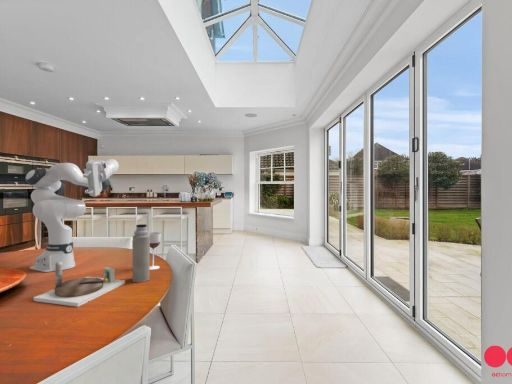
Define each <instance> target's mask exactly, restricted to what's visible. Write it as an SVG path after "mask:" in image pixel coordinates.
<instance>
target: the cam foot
mask: <svg viewBox="0 0 512 384" xmlns="http://www.w3.org/2000/svg"><path fill="white" fill-rule="evenodd" d="M54 272H55V279H54V281H55V286H54V289H55V294H56V295H58V296H63V297H72V296H80V295H85V294H89V293H93V292H95V291H98V290H99V289H101V288H102V287H103V283H106V282H107V281H108V279H107V278H104V277H103V278H104V279H103V280H102V279H100V278H101V277H96V278H93V276H88V277H89V278H85V277H79V278H74V279H69V280H65V281H63V270H62V262H57V263H56V266H55V271H54Z"/></svg>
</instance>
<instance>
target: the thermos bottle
mask: <svg viewBox="0 0 512 384" xmlns="http://www.w3.org/2000/svg"><path fill="white" fill-rule="evenodd" d="M147 227H148V226H147V224H136V229H135V230H134V233H133V236H132V274H131V275H132V277H131V278H132V282H134V283H144V282H146V281H149V280H150V270H149V267H150V266H151V265H150V263H151V262H150V257H151V256H150V255H151V254H150V251H151V247H150V235H148V233H150V232H149V230H147Z"/></svg>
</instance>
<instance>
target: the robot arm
mask: <svg viewBox="0 0 512 384" xmlns="http://www.w3.org/2000/svg"><path fill="white" fill-rule="evenodd" d="M119 169H120V164H119V162H118V161H117V160H116V159H115V158H109V159H106V160H101V159H95V158H93V159H91V160H88V161H87V162H86V163H85V164H84V165H83V171H84V173H83V172H82V170H81V169H80V168H79V166H78V165H76V164H75V163H73V162H72V163H71V162H60V163H59V162H58V163H55V164H53V165H51V166H50V168H49V169H46V168H45V167H41V168H34V169H30V170H29V171H28V172H27V174H26V175H25V177H24V179H25V180H24V181H25V182H26V183H27V184H28V185H30V186H33V187H34V188H36V189H34V190H32V192H31V194H30V199H31V200H32V202H33V207H32V214H33V216H34V217H35V218H36V219H37V220H40V222H42V223H43V224H44V225H45V227H46V229H47V234H48V243H47V244H46V245H44V247H45V250H44V251H43V252H42V253H40V254H39V255H38V256H37V257H36V258H35V263H34V264H33V265H31V266H29V269H30V270H32V271H33V270H34V271H37V272H43V273H49V272H55V266H56V263H57V262H62V271H65V270H70V269H73V268H74V267H76V261H75V255H74V250H73V249H74V242H73V229H72V227H70V226H69V225H67V224H64V223H63V221H62V219H74V218H78V217H82V216H84V215H85V213H86V210H87V207H86V204H85V202H84V200H81V199H76V198H70V197H66V196H63V195H62V194H63V193H64V192H65V190H66V184H65V183H64V181H67V182H69V183H72V184H73V185H74V186H76V187H80V188H85V190H84V194H89V196H91V197H98V196H99V194H100V193H101V192H103V191H106V190H107V189H109V188H110V185H111V181H110V180H109V178H110V177H111V176H113V175H114V174H115V173H117V171H118V170H119Z"/></svg>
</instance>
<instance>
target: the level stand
mask: <svg viewBox="0 0 512 384" xmlns="http://www.w3.org/2000/svg"><path fill="white" fill-rule="evenodd" d="M89 277H90V276H86V277H84V278H89ZM92 277H93V276H92ZM93 278H97V277H93ZM99 278H100V279H102V280H103V279H104V278H107V279H108V281H107V282H106V283H103V287H102V288H101V289H99V290H98V291H95V292H93V293H89V294H85V295H80V296H72V297H63V296H58V295H56V294H55V288H54V289H51V290H48V291H46V292H43V293H42V294H39V295H36V296H34V297H33V302H39V303H46V304H55V305H61V306H62V305H63V306H67V307H68V306H69V307H76V308H79V307H80V306H82V305H84V304H86V303H89V302H91V301H92V300H95V299H97V298H99V297H100V296H103V295H105V294H107V293H108V292H110V291H113V290H115V289H117V288H119V287H121V286H123V285H126V284H125V283H126V280H123V279H115V269H114V268H111V267H108V266H107V267H103V278H102V277H99ZM88 301H89V302H88Z"/></svg>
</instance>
